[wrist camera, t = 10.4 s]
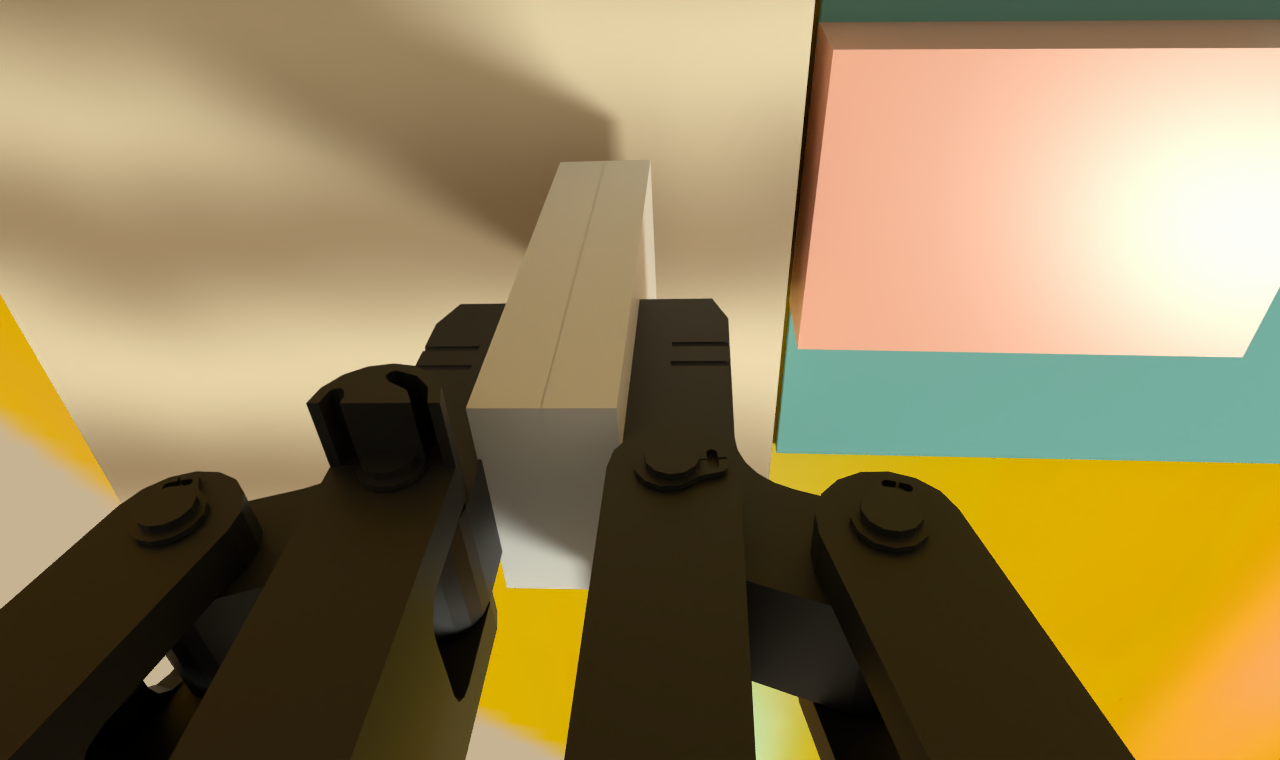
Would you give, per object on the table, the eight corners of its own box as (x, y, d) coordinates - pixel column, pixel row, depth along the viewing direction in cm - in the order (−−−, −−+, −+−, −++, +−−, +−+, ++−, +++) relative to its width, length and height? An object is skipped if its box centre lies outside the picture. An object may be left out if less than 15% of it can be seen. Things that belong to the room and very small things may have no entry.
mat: (856, -365, 12) (860, -367, 12) (1884, -410, 11) (1911, -414, 11) (775, 445, 21) (776, 452, 21) (1322, 456, 20) (1329, 464, 20)
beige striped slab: (-211, -404, 12) (-434, -453, 10) (831, -458, 11) (866, -529, 9) (199, 459, 23) (141, 537, 21) (754, 472, 22) (761, 555, 20)
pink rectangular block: (789, 300, 18) (797, 349, 17) (818, 22, 15) (833, 50, 13) (1193, 306, 18) (1242, 357, 16) (1325, 19, 14) (1405, 47, 13)
